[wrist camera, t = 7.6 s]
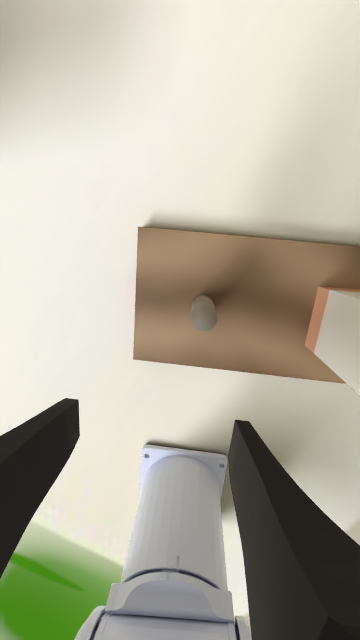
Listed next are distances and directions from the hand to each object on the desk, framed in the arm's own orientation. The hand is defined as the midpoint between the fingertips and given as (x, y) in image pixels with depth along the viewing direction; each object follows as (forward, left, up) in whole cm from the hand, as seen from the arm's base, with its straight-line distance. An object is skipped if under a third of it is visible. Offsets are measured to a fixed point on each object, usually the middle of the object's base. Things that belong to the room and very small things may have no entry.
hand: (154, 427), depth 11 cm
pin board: (+4, -7, -9) cm, 12 cm away
